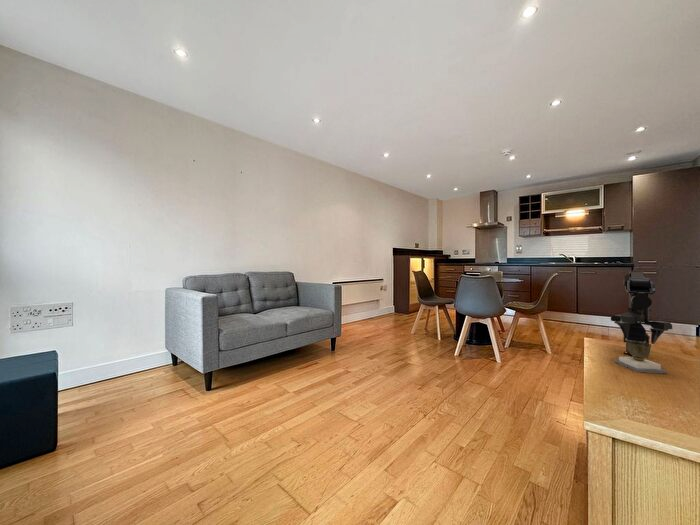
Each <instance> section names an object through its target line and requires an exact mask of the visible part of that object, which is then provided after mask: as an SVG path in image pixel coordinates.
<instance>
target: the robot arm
mask: <svg viewBox="0 0 700 525" xmlns="http://www.w3.org/2000/svg"><path fill="white" fill-rule="evenodd" d="M623 287H624V288H625V291H626V293H628V294H629V307H628V308H627V311H625V312H623V313H620V314H612V315H611V316H610V321H612V322H613V323H614V324H616V325H618V327H620V331H621V332H622V334H623V336H622V337H623V338H622V341H623V343H625V352H627V354H626V355H628V354H630V353H629V351H628V346H627V340H628V341H629V342H632V341H638V342H640V343H641V342H643V344H644V343H649V344H651V345H655V343H656V342H657V341H658V339H659V338H660V336H661V335H662V334H663V333H664V332H667V331H669V330H673V324H672V323H671V322H669V321H663V320H652V318H650V312H652V308H650V307H651V306H652V302H653V301H652V299H651V298H650V296H649V295H654V294H655V293H656V288H655V283H654V281H652V280H651V279H650V278H649V277H648V276H647V275H645V272H644V271H642V270H629V272H628V273H627V274H626V275H624V276H623ZM644 325H646V326H650V327H651V328H650V327H649V330H650V331H651V333H650V336H651V337H650V336H649V333H648V332H647V331H646V328H645V326H644ZM629 356H631V354H630V355H629Z"/></svg>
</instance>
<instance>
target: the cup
mask: <svg viewBox="0 0 700 525" xmlns="http://www.w3.org/2000/svg"><path fill="white" fill-rule="evenodd" d="M626 340H627V339H626ZM627 346H628V351H629V353H630V354H631V355H632V356H631V355H630V356H631V357H633V359H634V360H637V361H644V360H645V359H646V358H648V357H649V356H650V353H651V352H650V351H651V348H652V343H650V342H649V343H644V344H643V342H641V343H640V342H638V341H632V342H629V341H628V340H627Z"/></svg>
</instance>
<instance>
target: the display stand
mask: <svg viewBox="0 0 700 525" xmlns="http://www.w3.org/2000/svg"><path fill="white" fill-rule="evenodd" d="M644 359H645V360H644V361H637V360H634V359H633V356H619V357H618V359H613V362H614V363H615V364H617V363H618V365H620V366H622V365H623V366H622V367H624V366H625V368H627V367H628V368H627V369H629V368H630V369H629V370H632V371H635V372H636V371H637V373H643V372H646V373H645V374H648V373H649V374H662V373H667V374H668V370H666V369H663V368H662V367H661V364H660V363H657V362H654V361H651V360H648V359H646V358H644Z"/></svg>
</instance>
